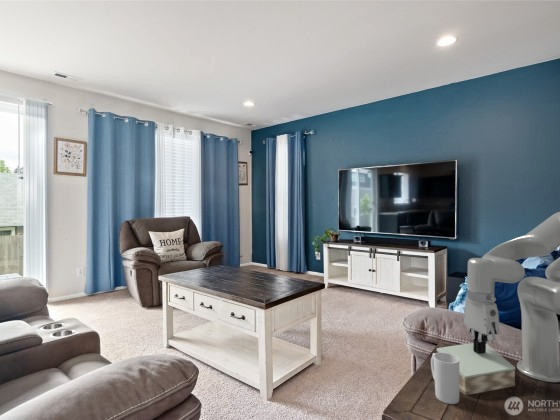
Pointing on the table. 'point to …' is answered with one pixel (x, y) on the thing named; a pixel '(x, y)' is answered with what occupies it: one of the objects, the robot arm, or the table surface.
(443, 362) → the mug
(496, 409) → the table surface
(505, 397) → the table surface
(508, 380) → the beige box
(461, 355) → the lid
